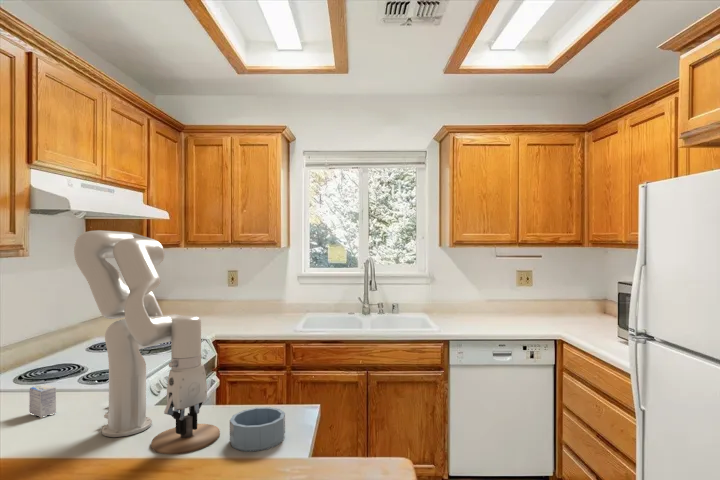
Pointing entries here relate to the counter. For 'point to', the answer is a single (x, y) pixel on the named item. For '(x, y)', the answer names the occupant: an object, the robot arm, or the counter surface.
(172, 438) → the lid
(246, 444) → the bowl
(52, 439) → the counter surface
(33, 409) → the medicine box
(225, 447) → the counter surface
